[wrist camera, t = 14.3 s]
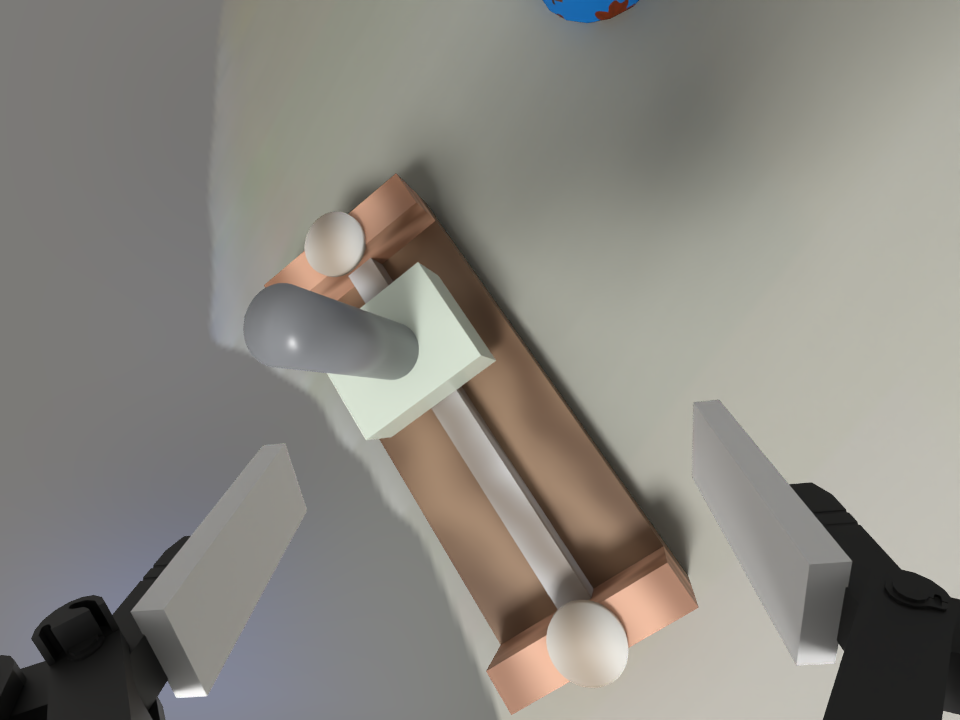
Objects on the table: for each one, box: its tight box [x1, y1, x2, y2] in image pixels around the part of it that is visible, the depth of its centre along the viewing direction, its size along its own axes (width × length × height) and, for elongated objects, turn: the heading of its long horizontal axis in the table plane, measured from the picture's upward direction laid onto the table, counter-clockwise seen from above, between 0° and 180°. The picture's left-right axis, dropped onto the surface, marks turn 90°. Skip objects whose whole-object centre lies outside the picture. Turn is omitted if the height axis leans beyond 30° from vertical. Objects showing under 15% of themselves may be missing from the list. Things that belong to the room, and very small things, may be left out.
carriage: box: [244, 262, 496, 440], centre depth 32 cm, size 10×8×16 cm
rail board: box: [264, 174, 698, 715], centre depth 39 cm, size 14×38×7 cm, turn 34°
